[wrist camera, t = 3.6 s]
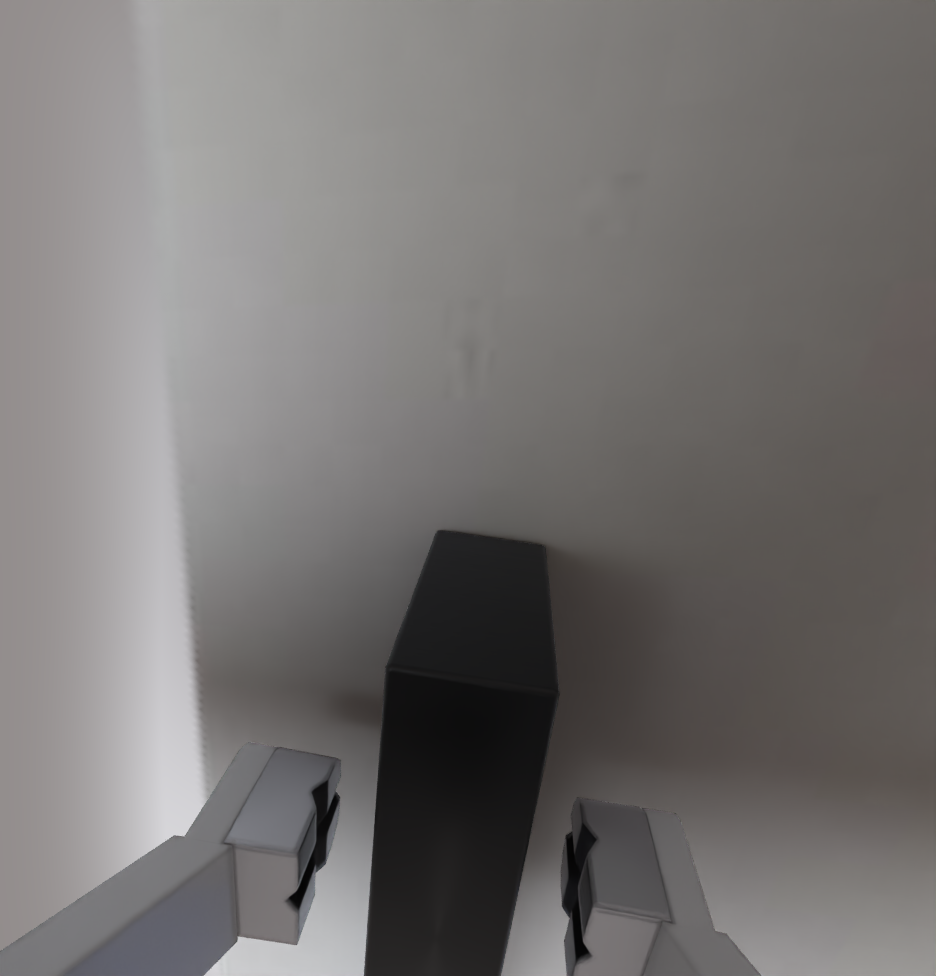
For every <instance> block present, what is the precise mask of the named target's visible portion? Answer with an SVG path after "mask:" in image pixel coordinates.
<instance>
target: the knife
mask: <svg viewBox="0 0 936 976" xmlns="http://www.w3.org/2000/svg"><path fill="white" fill-rule="evenodd" d="M559 695H560V694H559V684H558V673H557V662H556V652H555V641H554V631H553V620H552V610H551V599H550V589H549V578H548V567H547V557H546V549H545V546H543V545H539V544H532V543H525V542H518V541H511V540H503V539H496V538H489V537H482V536H475V535H468V534H461V533H454V532H447V531H437V532H436V534H435V536H434V539H433V542H432V545H431V547H430V550H429V553H428V555H427V558H426V561H425V563H424V566H423V569H422V571H421V574H420V577H419V579H418V582H417V585H416V587H415V590H414V593H413V595H412V598H411V601H410V603H409V606H408V609H407V611H406V614H405V617H404V619H403V622H402V625H401V627H400V630H399V633H398V635H397V638H396V641H395V643H394V646H393V649H392V651H391V654H390V657H389V659H388V662H387V665H386V667H385V681H384V696H383V710H382V724H381V738H380V753H379V767H378V781H377V796H376V810H375V824H374V839H373V853H372V867H371V882H370V896H369V910H368V924H367V939H366V953H365V967H364V976H501V972H502V967H503V963H504V958H505V953H506V948H507V943H508V939H509V934H510V929H511V924H512V919H513V915H514V910H515V905H516V900H517V896H518V891H519V886H520V881H521V876H522V872H523V867H524V862H525V857H526V853H527V848H528V843H529V838H530V833H531V829H532V824H533V819H534V814H535V810H536V805H537V800H538V795H539V790H540V786H541V781H542V776H543V771H544V767H545V762H546V757H547V752H548V747H549V743H550V738H551V733H552V728H553V723H554V719H555V714H556V709H557V704H558V700H559Z"/></svg>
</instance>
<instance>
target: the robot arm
mask: <svg viewBox="0 0 936 976" xmlns="http://www.w3.org/2000/svg"><path fill="white" fill-rule="evenodd" d="M340 777H341V760H340V759H338V758H333V757H328V756H323V755H318V754H313V753H308V752H302V751H297V750H292V749H287V748H282V747H275V746H270V745H264V744H259V743H254V742H248V743H247V744H246V745H244V746H243V747H242V748H241V749H240V750H239V751H238V753H237V755H236V756H235V758H234V759H233V761H232V763H231V764H230V766H229V767H228V769H227V770H226V772H225V774H224V775H223V777H222V778H221V780H220V781H219V783H218V785H217V786H216V788H215V789H214V791H213V792H212V794H211V796H210V797H209V799H208V800H207V802H206V803H205V805H204V807H203V808H202V810H201V811H200V813H199V814H198V816H197V818H196V820H195V821H194V822H193V824H192V826H191V827H190V829H189V830H188V832H187V834H186V835H185V837H182V836H173V837H171V838H170V839H169V840H167V841H165V842H164V843H162V844H161V845H159V846H158V847H156V848H155V849H153V850H152V851H150V852H149V853H147V854H146V855H144V856H143V857H141V858H140V859H138V860H137V861H135V862H134V863H132V864H131V865H129V866H128V867H126V868H125V869H123V870H122V871H120V872H119V873H117V874H116V875H114V876H113V877H111V878H110V879H108V880H107V881H105V882H103V883H102V884H101V885H99V886H98V887H96V888H95V889H93V890H91V891H90V892H88V893H87V894H85V895H84V896H82V897H81V898H79V899H78V900H76V901H75V902H74V903H72V904H71V905H69V906H68V907H66V908H64V909H63V910H62V911H60V912H58V913H57V914H55V915H54V916H52V917H51V918H49V919H48V920H46V921H45V922H43V923H42V924H40V925H39V926H38V927H36V928H34V929H33V930H31V931H30V932H28V933H27V934H25V935H24V936H22V937H21V938H19V939H18V940H16V941H15V942H13V943H12V944H10V945H9V946H7V947H6V948H4V949H3V950H1V951H0V976H204V975H205V973H206V972H207V971H208V970H209V969H210V968H211V967H212V966H213V965H214V964H215V963H216V962H217V961H218V960H219V959H220V958H221V957H222V956H223V955H224V954H225V953H226V952H227V951H228V950H229V949H230V948H231V947H232V946H233V945H234V944H235V943H236V942H237V939H238V938H237V936H240V937H246V938H253V939H260V940H266V941H273V942H279V943H286V944H292V945H297V944H298V941H299V938H300V935H301V932H302V930H303V927H304V924H305V921H306V918H307V916H308V913H309V910H310V907H311V904H312V902H313V899H314V896H315V873H316V872H317V871H318V870H320V869H321V868H322V867H323V866H324V865H325V864H326V861H327V859H328V856H329V853H330V850H331V847H332V843H333V839H334V835H335V831H336V827H337V823H338V816H339V809H340V796H339V795H338V793H337V792H336V788H337V785H338V783H339V780H340ZM571 821H572V831H571V832H570V833H569V834H567V835H566V838H565V842H564V847H563V853H562V864H561V899H562V907H563V909H564V911H565V912H566V914H567V915H568V917H569V918H570V919H569V923H568V927H567V931H566V935H565V939H564V946H565V960H566V973H567V976H761V975H760V973H759V972H758V971H757V970H756V969H755V967H754V966H753V965H752V964H751V963H750V961H749V960H748V959H747V958H746V957H745V955H744V954H743V953H742V952H741V951H740V949H739V948H738V947H737V946H736V945H735V943H734V942H733V941H732V940H731V939H730V937H729V936H728V935H727V934H726V933H721V932H717V931H715V929H714V926H713V922H712V919H711V916H710V913H709V910H708V906H707V903H706V900H705V897H704V894H703V890H702V887H701V884H700V881H699V878H698V874H697V871H696V868H695V865H694V861H693V858H692V855H691V852H690V849H689V845H688V842H687V839H686V836H685V833H684V829H683V826H682V823H681V820H680V819H679V817H678V816H677V815H676V813H671V812H665V811H659V810H653V809H647V808H640V807H637V806H631V805H624V804H618V803H611V802H605V801H598V800H591V799H585V798H578V797H577V799H576V800H575V802H574V805H573V809H572V813H571Z"/></svg>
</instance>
